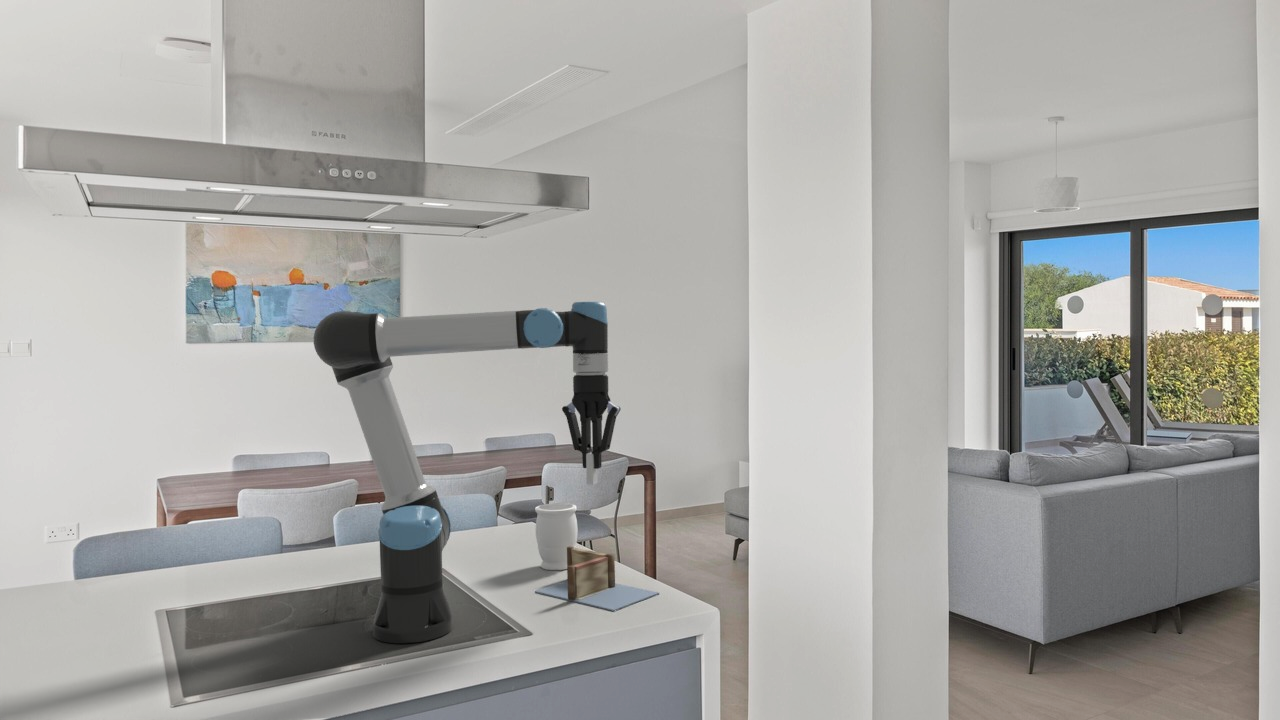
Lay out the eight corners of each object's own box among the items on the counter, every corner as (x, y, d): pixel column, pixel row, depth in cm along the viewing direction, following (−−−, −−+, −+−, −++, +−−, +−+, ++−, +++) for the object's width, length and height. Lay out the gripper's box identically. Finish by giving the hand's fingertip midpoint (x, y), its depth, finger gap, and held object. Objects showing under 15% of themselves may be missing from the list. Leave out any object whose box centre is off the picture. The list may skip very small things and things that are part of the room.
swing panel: (603, 586, 196) (602, 555, 196) (608, 587, 195) (608, 556, 195) (566, 598, 187) (565, 566, 187) (571, 600, 186) (570, 567, 186)
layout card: (535, 592, 195) (535, 590, 195) (581, 577, 206) (581, 575, 206) (614, 611, 180) (614, 609, 180) (659, 594, 191) (659, 592, 191)
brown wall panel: (565, 579, 205) (564, 547, 204) (571, 577, 206) (570, 546, 206) (611, 589, 196) (610, 556, 195) (617, 587, 197) (616, 554, 197)
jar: (572, 572, 211) (571, 510, 210) (531, 571, 212) (529, 510, 212) (582, 561, 221) (581, 502, 221) (543, 560, 223) (541, 502, 222)
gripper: (555, 374, 186) (557, 485, 186) (612, 374, 181) (614, 487, 182) (570, 373, 193) (571, 479, 193) (625, 373, 188) (626, 482, 189)
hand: (592, 483), depth 187 cm, fingers closed
